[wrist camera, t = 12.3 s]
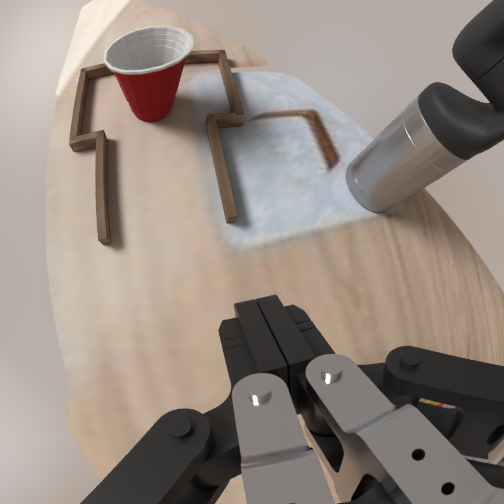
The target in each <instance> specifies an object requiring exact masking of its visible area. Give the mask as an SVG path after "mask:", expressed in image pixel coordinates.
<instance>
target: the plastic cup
mask: <svg viewBox="0 0 504 504" xmlns="http://www.w3.org/2000/svg"><path fill="white" fill-rule="evenodd" d="M193 45H194V40H193V37H192V35H191V34H190V33H188V32H187V31H185V30H183V29H181V28H176V27H172V26H151V27H146V28H141V29H137V30H134V31H132V32H130V33H127V34H125V35H122V36H121V37H120V38H118V39H117V40H115V41H114V42H112V43H111V44H110V45H109V47H108V48H107V49H106V51H105V52H104V61H103V62H104V63H105V64H106V65H107V67H108V68H109V69H110V70H111V71H112V72H113V73H114V75H115V76H116V78H117V80H118V82H119V84H120V86H121V89H122V91H123V93H124V95H125V97H126V100H127V101H128V102H129V105H130V107H131V109H132V112H133V113H134V114H135V115H136V117H137V118H138V119H141V120H143V121H150V122H152V121H156V120H160V119H162V118H164V117H165V116H166V115H167V114H168V113H169V112H170V110H171V109H172V106H173V102H174V98H175V95H176V92H177V89H178V85H179V82H180V78H181V74H182V70H183V67H184V64H185V62H186V59H187V56H188V55H189V54H190V52H191V50H192V47H193Z"/></svg>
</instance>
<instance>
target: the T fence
mask: <svg viewBox="0 0 504 504" xmlns="http://www.w3.org/2000/svg"><path fill="white" fill-rule="evenodd" d="M201 62H218V64H219V67H220V71H221V75H222V79H223V82H224V86H225V90H226V94H227V97H228V101H229V105H230V109H231V113H221V114H208V115H207V120H206V126H207V131H208V136H209V141H210V146H211V151H212V156H213V161H214V166H215V171H216V176H217V181H218V185H219V190H220V195H221V200H222V204H223V209H224V214H225V219H226V223H229V222H235V220H236V218H237V212H236V207H235V203H234V198H233V194H232V190H231V185H230V181H229V176H228V172H227V167H226V163H225V158H224V154H223V149H222V145H221V140H220V136H219V131H218V128H223V127H237V126H242V125H243V122H244V119H245V116H244V113H243V110H242V106H241V103H240V99H239V96H238V92H237V89H236V86H235V82H234V79H233V76H232V72H231V69H230V66H229V63H228V59H227V56H226V53H225V50H205V51H191V52H190V54H189V55H188V56H187V59H186V62H185V64H187V63H201ZM109 74H114V73H113V72H112V71H111V70H110V69H109V68H108V67H107V65H106V64H105V63H104V64H99V65H95V66H91V67H87V68H83V69H81V73H80V77H79V82H78V87H77V92H76V98H75V103H74V110H73V116H72V123H71V131H70V140H69V145H70V147H71V148H72V150H73V152H75V151H79V150H83V149H87V148H91V147H96V172H95V178H96V215H97V231H98V240H99V241H100V242H101V243H102V244H108V243H111V242H110V231H109V218H108V202H107V173H106V146H107V138H106V135H105V132H104V130H101V131H97V132H92V133H88V134H84V135H81V129H82V120H83V111H84V104H85V97H86V91H87V85H88V79H92V78H96V77H100V76H105V75H109Z"/></svg>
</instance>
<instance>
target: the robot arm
mask: <svg viewBox="0 0 504 504" xmlns="http://www.w3.org/2000/svg"><path fill="white" fill-rule="evenodd" d="M452 53H453V57H454V59H455V61H456V62H457V64H458V65H459V66H460V67H461V69H462V70H463V71H464V72H465V74H466V75H467V76H468V77H469V78H470V79H471V80H472V81H473V82H474V84H475V85H476V86H477V87H478V88H479V90H480V91H481V92H482V93H483V94H484V96H485V97H486V98H487V99H488V100H489V102H490V103H483V102H480V101H477V100H474V99H472V98H470V97H468V96H466V95H464V94H463V93H461V92H459V91H458V90H456V89H454V88H452V87H451V86H449V85H447V84H444V83H440V82H435V83H432V84H430V85H429V86H428V87H427V88H426V89H424V91H423V92H422V93H421V94H420V95H419V96H418V97H417V98H416V99H415V100H414V101H413V102H412V103H411V104H410V105H408V106H407V108H405V110H404V111H403V112H402V113H401V114H400V115H399V116H398V117H397V118H396V119H395V120H394V121H392V122H391V124H390V125H389V126H387V127H386V128H385V129H384V131H382V132H381V133H380V134H379V135H378V136H377V137H376V138H375V139H374V140H373V141H372V142H371V143H370V144H369V145H368V146H367V147H366V148H365V149H364V150H363V151H362V152H361V153H360V154H359V155H358V156H357V157H356V158H355V159H354V160H353V161H352V162H351V163H350V164H349V166H348V168H347V173H346V176H347V183H348V186H349V188H350V191H351V193H352V194H353V196H354V197H355V198H356V200H357V201H358V202H359V203H360V204H361V205H363V206H364V207H365V208H367V209H369V210H371V211H374V212H384V211H387V210H389V209H390V208H392V207H393V206H395V205H397V204H398V203H400V202H402V201H404V200H405V199H407V198H409V197H410V196H412V195H413V194H415V193H417V192H418V191H420V190H422V189H423V188H425V187H426V186H428V185H430V184H431V183H433V182H434V181H436V180H438V179H439V178H441V177H442V176H444V175H445V174H447V173H449V172H450V171H451V170H453V169H454V168H456V167H458V166H459V165H461V164H462V163H464V162H466V161H467V160H469V159H470V158H472V157H473V156H475V155H477V154H479V153H482V152H484V151H486V150H488V149H490V148H491V147H493V146H494V145H496V144H497V143H499V142H501V141H503V140H504V0H493V1H492V2H491V3H490V4H489V5H488V6H486V7H485V8H484V9H483V10H482V11H481V12H480V13H479V14H477V15H476V16H475V17H474V18H473V19H472V20H471V21H470V22H469V23H468V24H467V25H466V26H465V28H464V29H463V30H462V31H461V32H460V34H459V35H458V37H457V38H456V40H455V42H454V45H453V49H452ZM234 309H235V315H236V318H232V319H227V320H223V321H222V323H221V325H220V328H219V330H218V331H219V335H220V340H221V344H222V348H223V353H224V357H225V361H226V366H227V370H228V374H229V378H230V382H231V392H230V394H229V396H228V398H227V399H226V400H225V401H224V402H223V403H222V404H221V405H219V406H218V407H216V408H214V409H212V410H210V411H208V412H206V413H204V414H202V413H200V412H198V411H196V410H193V409H176V410H173V411H170V412H168V413H166V414H164V415H163V416H162V417H161V418H159V419H158V421H157V422H156V423H155V424H154V425H153V426H152V427H151V428H150V430H149V431H148V432H147V433H146V434H145V435H144V436H143V437H142V438H141V440H140V441H139V442H138V443H137V444H136V445H135V446H134V447H133V448H132V450H131V451H130V452H129V453H128V454H127V455H126V456H125V457H124V458H123V459H122V460H121V461H120V463H119V464H118V465H117V466H116V467H115V468H114V469H113V470H112V471H111V472H110V473H109V474H108V475H107V476H106V477H105V478H104V480H103V481H102V482H101V483H100V484H99V485H98V486H97V487H96V488H95V489H94V490H93V491H92V492H91V493H90V494H89V495H88V496H87V497H86V498H85V499H84V500H83V501H82V502H81V503H80V504H215V503H216V501H217V500H218V498H219V497H220V495H221V494H222V492H223V491H224V489H225V488H226V486H227V485H228V483H229V481H230V479H232V478H234V477H236V476H238V475H240V474H241V473H242V478H243V483H244V489H245V495H246V500H247V504H335V502H334V500H333V497H332V494H331V492H330V489H329V486H328V484H327V481H326V478H325V476H324V473H323V470H322V468H321V465H320V462H319V460H318V457H317V455H316V453H315V451H314V449H313V448H310V447H309V446H308V444H307V442H306V439H305V437H304V434H303V431H302V428H301V425H300V422H299V420H298V417H297V414H300V413H301V415H302V417H303V419H304V421H305V433H306V435H307V437H308V438H309V440H310V442H311V443H312V445H313V447H314V448H315V450H316V452H317V453H318V455H319V457H320V458H321V460H322V462H323V463H324V465H325V467H326V468H327V470H328V472H329V473H330V475H331V477H332V479H333V482H334V487H335V490H336V493H337V495H338V497H339V499H340V500H341V502H342V503H338V504H504V366H500V365H494V364H489V363H484V362H479V361H475V360H470V359H465V358H461V357H456V356H452V355H447V354H443V353H438V352H434V351H430V350H426V349H422V348H417V347H413V346H402V347H398V348H396V349H394V350H392V351H391V352H390V353H389V354H388V356H387V358H386V362H385V363H378V364H369V365H356V364H355V363H354V362H353V361H352V360H351V359H350V358H348V357H346V356H343V355H339V354H335V352H334V351H333V350H332V348H331V347H330V345H329V344H328V343H327V341H326V340H325V339H324V337H323V336H322V334H321V333H320V332H319V330H318V329H317V328H316V326H315V325H314V323H313V322H312V321H311V320H310V318H309V317H308V315H307V314H306V312H305V311H304V310H302V309H300V308H298V307H297V306H295V305H289V306H285V307H284V306H283V304H282V303H281V301H280V300H279V298H278V296H277V295H271V296H267V297H262V298H258V299H255V300H254V299H253V300H249V301H244V302H239V303H235V304H234ZM420 398H422V399H426V400H430V401H434V402H438V403H443V404H447V405H451V406H456V407H454V408H445V407H440V406H436V405H432V404H428V403H424V402H420V401H419V399H420ZM462 455H464V456H469V457H475V458H481V459H488V460H489V461H488V462H487V463H484V462H479V461H474V460H470V459H465V458H464V457H463V456H462Z"/></svg>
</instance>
